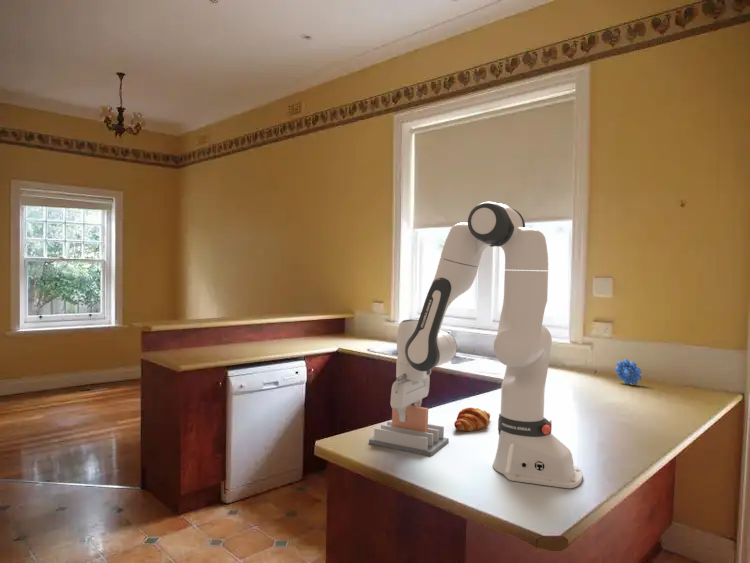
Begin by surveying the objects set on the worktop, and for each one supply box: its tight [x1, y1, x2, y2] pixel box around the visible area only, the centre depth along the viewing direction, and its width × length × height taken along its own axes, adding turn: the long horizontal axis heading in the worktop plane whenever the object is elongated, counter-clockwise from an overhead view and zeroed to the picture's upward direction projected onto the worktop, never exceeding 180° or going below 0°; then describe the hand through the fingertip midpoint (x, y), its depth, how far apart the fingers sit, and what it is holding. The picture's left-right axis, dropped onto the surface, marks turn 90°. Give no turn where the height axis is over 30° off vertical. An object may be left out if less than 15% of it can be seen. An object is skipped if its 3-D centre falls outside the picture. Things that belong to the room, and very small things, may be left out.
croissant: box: [453, 407, 491, 432], centre depth 177 cm, size 21×10×8 cm, turn 140°
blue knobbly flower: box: [614, 358, 642, 386], centre depth 248 cm, size 12×7×12 cm, turn 54°
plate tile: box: [391, 404, 429, 433], centre depth 158 cm, size 11×2×10 cm, turn 61°
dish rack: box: [368, 420, 449, 457], centre depth 159 cm, size 20×14×5 cm
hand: (409, 417), depth 158 cm, fingers open, 8 cm apart
